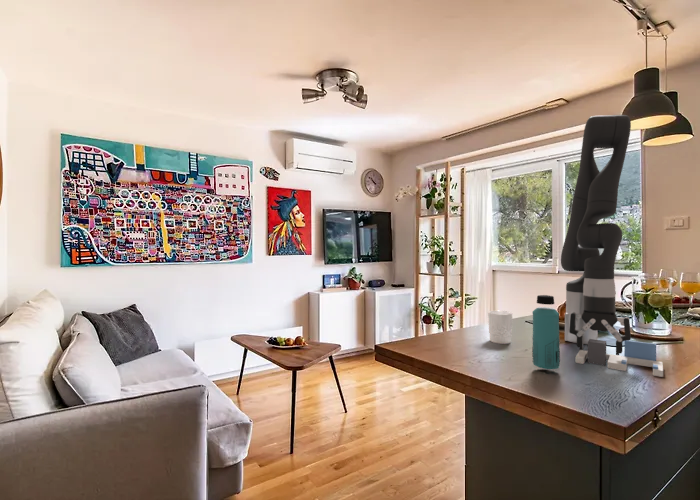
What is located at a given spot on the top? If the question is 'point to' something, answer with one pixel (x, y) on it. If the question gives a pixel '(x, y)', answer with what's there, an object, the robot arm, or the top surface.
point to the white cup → (500, 326)
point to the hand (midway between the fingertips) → (599, 352)
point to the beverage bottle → (545, 335)
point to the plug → (597, 352)
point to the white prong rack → (630, 357)
